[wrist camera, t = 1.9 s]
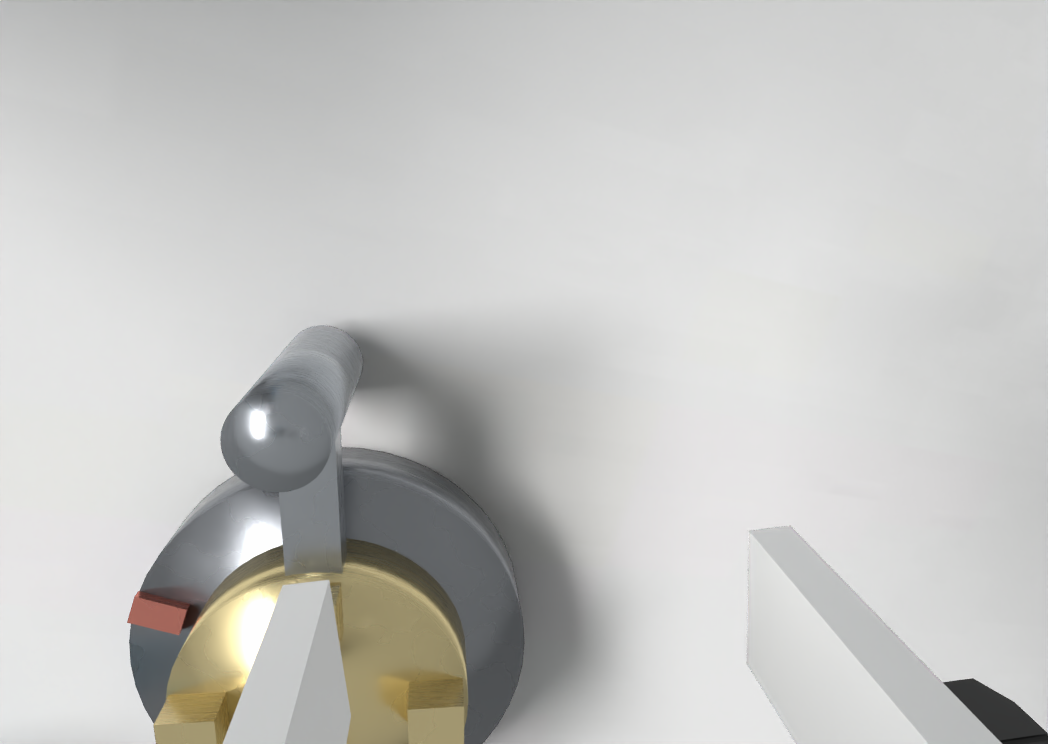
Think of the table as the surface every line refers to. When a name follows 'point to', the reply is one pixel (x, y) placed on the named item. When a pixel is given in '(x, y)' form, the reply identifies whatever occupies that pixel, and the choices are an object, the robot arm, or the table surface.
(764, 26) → the table surface
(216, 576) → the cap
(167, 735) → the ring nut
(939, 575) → the table surface
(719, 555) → the table surface
